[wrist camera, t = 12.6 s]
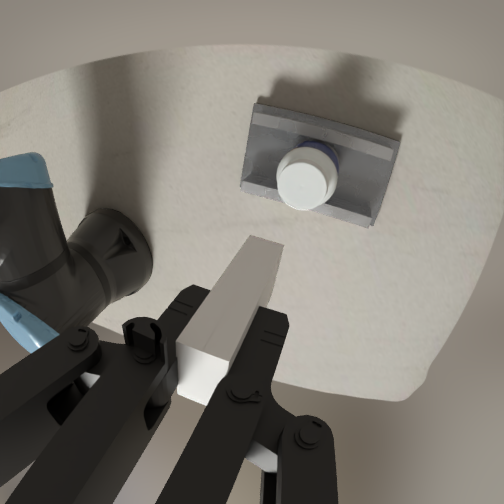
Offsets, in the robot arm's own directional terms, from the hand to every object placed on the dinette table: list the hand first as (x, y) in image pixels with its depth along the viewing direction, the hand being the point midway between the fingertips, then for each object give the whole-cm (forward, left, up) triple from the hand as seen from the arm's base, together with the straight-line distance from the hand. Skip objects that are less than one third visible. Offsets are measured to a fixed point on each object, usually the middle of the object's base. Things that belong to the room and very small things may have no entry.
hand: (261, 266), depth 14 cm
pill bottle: (0, 0, -22) cm, 22 cm away
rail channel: (0, 0, -22) cm, 22 cm away
